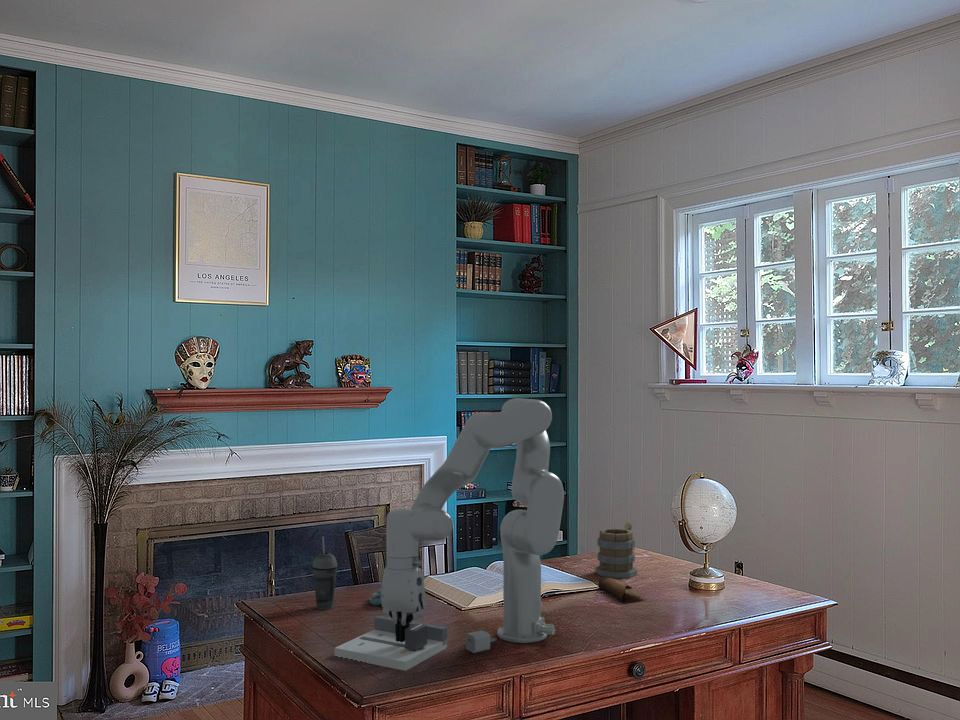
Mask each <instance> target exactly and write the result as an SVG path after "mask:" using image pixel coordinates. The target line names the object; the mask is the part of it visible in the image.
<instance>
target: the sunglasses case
mask: <svg viewBox="0 0 960 720" xmlns="http://www.w3.org/2000/svg"><path fill="white" fill-rule="evenodd" d="M597 585H598V588H599V589H602V590H604V591H607V593H609V594H611V595H613V596H614V597H616V598H617V599H619V600H620V601H622V602H623V603H624V604H629V603H640V602H647V600H646V599H645V597H643V596H642V595H641V594H640V593H639V592H638V591H636V590H635V589H633V587H632V586H631V585H629V584H628V583H625V582H623V581H620V580H619V579H617V578H609V577H603V576H602V577H601V578H600V579H599V581H598V582H597Z"/></svg>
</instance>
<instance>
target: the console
mask: <svg viewBox="0 0 960 720" xmlns="http://www.w3.org/2000/svg"><path fill="white" fill-rule="evenodd" d="M415 624H422V625H427V645H425V646H423V647H421V648H419V649H417V650H411V649H406V648H405V641H404V642H400V641H399V642H397V641H396V636H395V624H394V623H393V619H392V618H391V617H390V616H383V615H377V616H375V617H374V629H372V630H370V631H368V632H366V633H364V634H362V635H360V636H358V637H357V636H356V637H355V638H353V639H351V640H349V641H346V642H344V643H342V644H340V645H338V646H336V647H334V657H335V656H338V657H337V658H340V657H343V658H342V659H345V658H348V659H347V660H350V659H353V660H352V661H355V660H357V662H360V661H362V662H361V663H365V662H366V664H370V665H374V666H375V665H376V666H380V667H385V668H389V669H390V668H391V669H396V670H399V671H405V672H407V671H408V670H410V669H412V668H413V667H415V666H418V665H419V664H421V663H422V662H424V661H426V660H427V659H429V658H431V657H433V656H435V655H436V654H438V653H440V652H441V651H443V650H445V649H447V648H448V626H445V625H444V626H443V625H437V624H432V623H425V622H419V621H414V620H412V622H411V623H409V627H411V626H413V625H415Z"/></svg>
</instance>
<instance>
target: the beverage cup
mask: <svg viewBox="0 0 960 720" xmlns="http://www.w3.org/2000/svg"><path fill="white" fill-rule="evenodd" d="M321 540H322V541H321V542H322V552H320V553H319V554H318V555H317V556H315V558H314V559H313V561H312V567H311V568H312V573H313V580H314V589H315V591H314V592H315V593H314V594H315V604H316V609H317V608H318V609H317V610H319V609H320V610H319V611H328V609H329V610H331V609H333V608H334V602H335V590H336V580H337V579H336V578H337V574H338V568H339V566H338V561H337V559H336V556H335V555H333V554H332V553H330V552H326V551H325V536H323V535H322V536H321Z"/></svg>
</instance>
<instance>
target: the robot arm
mask: <svg viewBox="0 0 960 720" xmlns="http://www.w3.org/2000/svg"><path fill="white" fill-rule="evenodd" d="M552 421H553V414H552V409H551V408H550V406H549V405H548V403H546V402H545V401H543V400H540V399H535V398H523V397H522V398H520V397H518V398H517V397H516V398H510V399H508V400H507V401H505V402H504V403H503V405H502V407H501V411H498V412H485V411H481V412H474V413H473V414H472V415H471V416H470V417H468V419H467V420H466V421H465V423H464V425H463V426H462V427H463V428H461V431H460V433H459V435H458V437H457V439H456V440H455V442H454V444H453V446H452V448H451V450H450V452H449V454H448V455H447V457H446V458H445V461H444V462H443V463H442V465H441V466H440V467H439V468H438V469H437V470H436V471H435V472H434V473H433V475H432V476H430V478H429V479H428V480H427V481H426V482H425V483H424V484H423V486H422V488H421V489H420V491H419V492H418V494H417V497H416V498H415V500H414V502H413V504H412V506H411V507H410V509H406V508H405V509H404V508H403V509H393V510H390V511H389V512H388V513H387V515H386V554H385V555H386V557H385V558H386V565H385V567H384V570H383V574H382V580H381V588H382V589H381V588H380V589H381V604H380V605H381V607H382V612H383V614H386V615H388V616H389V617H391V618H392V619H393V623H394V624H395V636H396V641H397V642H399V641H400V642H404V641H405V629H407V628H409V623H411V622H412V621H414V619H415V620H416V619H420V618H422V617H423V609H425V607H426V590H425V588H426V587H425V581H424V575H423V571H422V568H421V566H423V560H422V559H420V558H419V541H432V542H438V541H443V540H445V539H446V538H448V537H449V536H450V535H451V533H452V531H453V529H454V522H453V519H452V517H451V516H450V514H449V513H447V511H445V510H443V507H444V505H445V504H446V503H447V501H448V499H449V498H450V497H451V496H452V495H453V494H454V493H455V492H456V491H458V490H459V489H461V488H463V487H465V486H467V485H468V484H470V483H472V482H473V481H474V480H475V479H476V477H477V475H478V474H479V472H480V470H481V468H482V466H483V465H484V462H485V461H486V458H487V457H488V455H489V453H490V451H491V450H492V449H501V448H506V447H509V446H511V445H514V444H516V456H515V457H516V458H515V463H514V469H513V475H512V482H511V494H512V497H513V499H514V500H515V501H516V502H518V503H519V504H521V505H525V506H527V508H526V510H525V509H514V510H511V511H510V512H507V514H506V515H504V517H503V519H502V520H501V523H500V529H499V530H500V531H499V534H500V542H501V543H500V544H501V550H502V557H503V561H502V562H503V573H502V575H503V578H502V579H503V582H502V583H503V587H502V588H503V589H502V590H503V592H502V593H503V594H502V596H503V599H502V600H503V601H502V604H503V608H502V609H503V611H502V612H503V616H502V617H503V620H502V621H503V623H502V625H503V626H500V627H499V628H498V629H497V633H496V634H497V637H498V638H499V639H500V640H503V641H506V642H510V643H516V644H517V643H518V644H528V643H537V642H541V641H543V640H545V639H547V636H548V635H549V636H550V635H551V636H555V633H556V627H555V624H551V623H546V622H545V619H546V617H544V616H542V564H541V556H543V555H546V554H549V553H550V552H551V551H552V550H553V549H554V547H555V546H556V544H557V541H558V538H559V535H560V528H561V522H562V521H561V520H562V515H563V508H564V501H565V500H564V499H565V491H564V486H563V483H562V481H561V479H560V477H558V476H557V475H556V474H554V473H553V472H550V471H549V464H550V455H551V444H550V438H549V435H548V433H547V429H548V428H549V427H550V426H551V423H552Z"/></svg>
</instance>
